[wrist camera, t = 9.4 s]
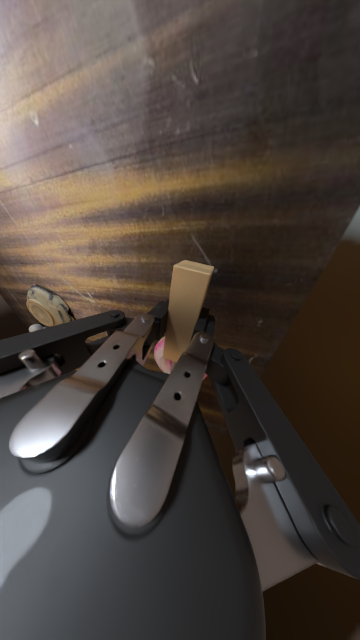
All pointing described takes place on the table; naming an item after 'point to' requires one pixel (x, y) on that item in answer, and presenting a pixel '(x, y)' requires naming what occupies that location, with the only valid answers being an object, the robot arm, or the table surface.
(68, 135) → the table surface
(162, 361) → the donut
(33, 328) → the smooth white sculpture
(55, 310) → the decorative bowl
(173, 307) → the knife
